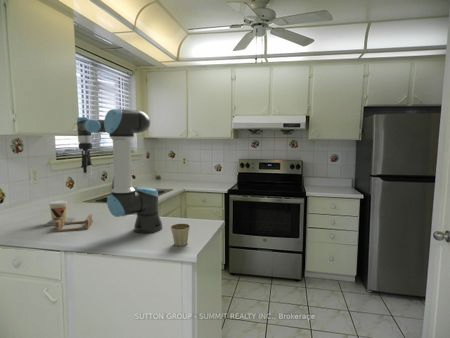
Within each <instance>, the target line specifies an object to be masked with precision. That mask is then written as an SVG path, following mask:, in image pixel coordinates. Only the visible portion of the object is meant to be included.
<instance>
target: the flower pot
mask: <svg viewBox="0 0 450 338" xmlns="http://www.w3.org/2000/svg"><path fill="white" fill-rule="evenodd" d="M169 228H170V230H171V234H172V239H173V244H174V245H175V246H176V247H177V246H179V247H182V246H183V247H184V246H186V245H188V239H189V232H190V231H189V230H190V229H191V225H190V224H189V223H175V224H172V225H171V226H170V227H169Z"/></svg>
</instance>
